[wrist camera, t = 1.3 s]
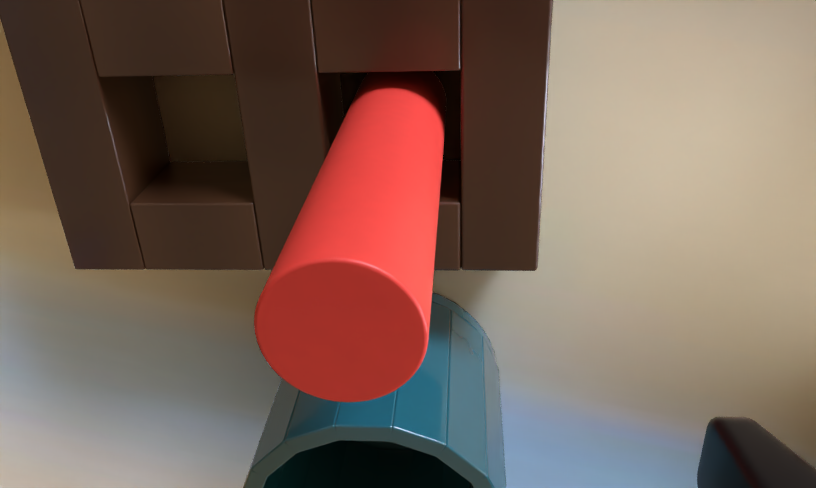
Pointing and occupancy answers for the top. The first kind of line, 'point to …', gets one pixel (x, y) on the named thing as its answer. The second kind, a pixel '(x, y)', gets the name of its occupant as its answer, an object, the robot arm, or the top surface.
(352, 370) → the red cylinder rod
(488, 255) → the block with rectangular holes
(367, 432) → the tumbler
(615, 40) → the top surface
